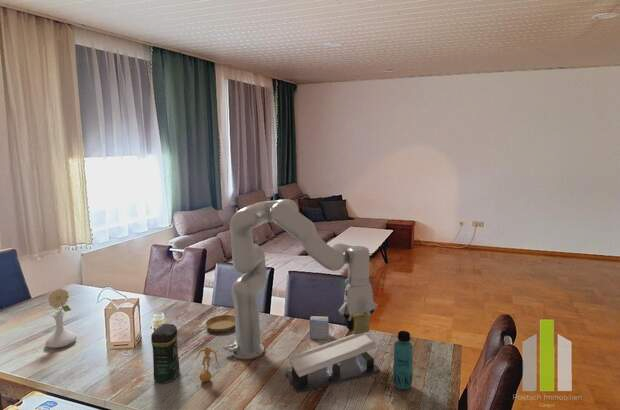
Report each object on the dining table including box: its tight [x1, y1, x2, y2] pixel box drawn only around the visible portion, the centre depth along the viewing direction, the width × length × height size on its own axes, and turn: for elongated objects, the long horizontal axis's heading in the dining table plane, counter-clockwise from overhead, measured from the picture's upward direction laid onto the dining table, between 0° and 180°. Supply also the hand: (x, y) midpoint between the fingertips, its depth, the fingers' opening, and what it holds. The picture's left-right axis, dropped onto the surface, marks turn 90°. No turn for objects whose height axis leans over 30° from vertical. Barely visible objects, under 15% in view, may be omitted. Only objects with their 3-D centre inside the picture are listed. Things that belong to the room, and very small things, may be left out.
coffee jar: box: [150, 323, 180, 383], centre depth 144 cm, size 10×8×19 cm
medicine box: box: [309, 315, 330, 340], centre depth 172 cm, size 8×4×9 cm, turn 84°
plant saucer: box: [205, 314, 235, 333], centre depth 184 cm, size 15×15×3 cm
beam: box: [288, 333, 377, 377], centre depth 144 cm, size 30×10×2 cm, turn 111°
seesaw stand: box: [285, 351, 381, 394], centre depth 145 cm, size 32×12×7 cm, turn 112°
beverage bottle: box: [392, 330, 414, 390], centre depth 135 cm, size 6×7×20 cm
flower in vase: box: [45, 287, 78, 349], centre depth 168 cm, size 13×11×25 cm
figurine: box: [195, 346, 218, 383], centre depth 142 cm, size 8×6×12 cm
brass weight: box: [350, 312, 370, 335], centre depth 146 cm, size 6×6×6 cm
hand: (357, 327), depth 147 cm, fingers closed on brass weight, 6 cm apart
